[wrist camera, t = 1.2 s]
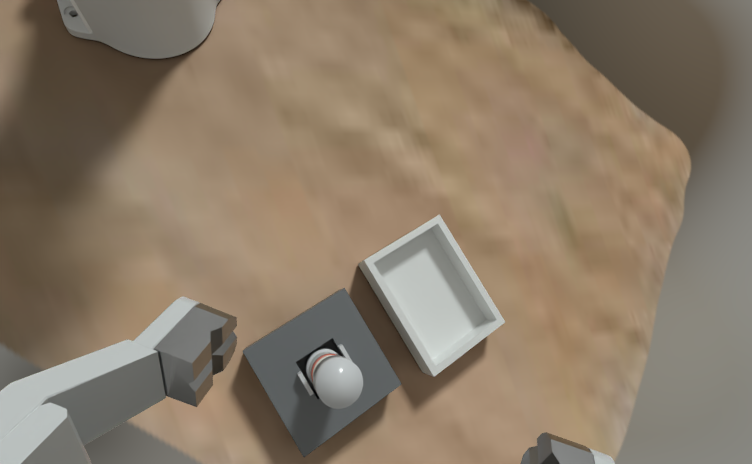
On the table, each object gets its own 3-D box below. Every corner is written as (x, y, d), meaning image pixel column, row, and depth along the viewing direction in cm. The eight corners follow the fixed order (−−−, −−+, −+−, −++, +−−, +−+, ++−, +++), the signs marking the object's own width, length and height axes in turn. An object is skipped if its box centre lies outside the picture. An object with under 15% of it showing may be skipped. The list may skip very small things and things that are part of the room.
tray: (357, 264, 47) (364, 260, 44) (428, 221, 51) (439, 214, 47) (422, 372, 47) (434, 376, 43) (489, 321, 50) (505, 322, 47)
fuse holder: (245, 348, 42) (241, 352, 38) (339, 290, 46) (346, 287, 42) (301, 446, 42) (304, 461, 37) (392, 379, 46) (405, 385, 41)
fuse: (298, 360, 42) (307, 376, 31) (328, 340, 44) (347, 349, 32) (316, 391, 42) (331, 419, 31) (345, 370, 44) (371, 389, 32)
